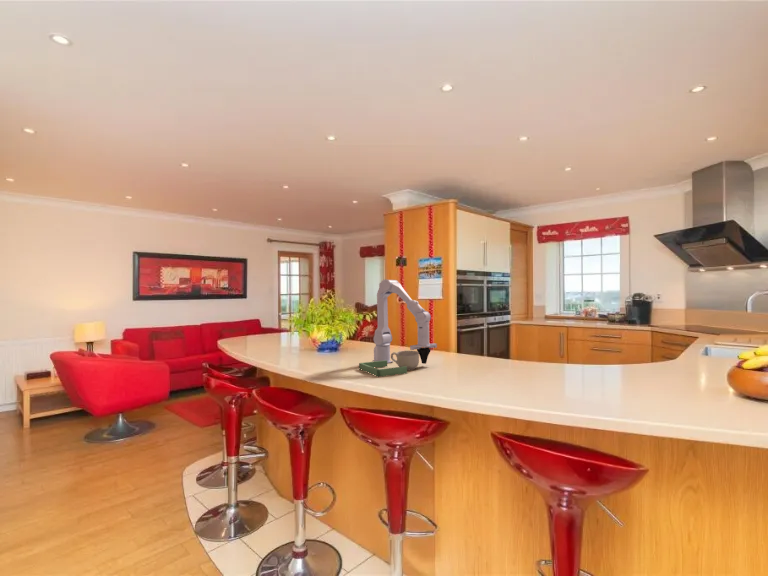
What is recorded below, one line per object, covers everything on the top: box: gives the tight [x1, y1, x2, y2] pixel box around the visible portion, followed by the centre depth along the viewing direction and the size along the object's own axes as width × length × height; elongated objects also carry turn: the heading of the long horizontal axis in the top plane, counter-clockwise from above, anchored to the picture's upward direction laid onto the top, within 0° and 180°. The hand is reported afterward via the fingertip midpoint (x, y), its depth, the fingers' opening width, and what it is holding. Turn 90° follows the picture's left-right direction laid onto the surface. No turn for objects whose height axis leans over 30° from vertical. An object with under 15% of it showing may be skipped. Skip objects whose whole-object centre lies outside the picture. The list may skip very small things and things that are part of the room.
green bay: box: [358, 360, 408, 377], centre depth 179 cm, size 20×15×3 cm
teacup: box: [390, 350, 420, 371], centre depth 185 cm, size 14×11×8 cm
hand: (424, 363), depth 190 cm, fingers closed
